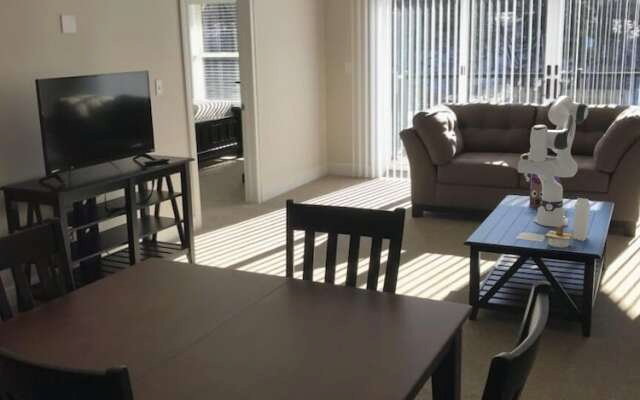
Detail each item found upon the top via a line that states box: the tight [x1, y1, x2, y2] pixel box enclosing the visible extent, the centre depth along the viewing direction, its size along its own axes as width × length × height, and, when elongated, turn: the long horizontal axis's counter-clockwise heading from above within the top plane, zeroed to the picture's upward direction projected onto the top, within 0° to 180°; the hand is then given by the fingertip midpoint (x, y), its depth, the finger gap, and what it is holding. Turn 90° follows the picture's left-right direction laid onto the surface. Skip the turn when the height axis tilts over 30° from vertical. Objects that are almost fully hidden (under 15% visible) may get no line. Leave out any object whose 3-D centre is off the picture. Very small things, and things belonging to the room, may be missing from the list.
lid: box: [544, 226, 574, 241], centre depth 355 cm, size 12×12×5 cm
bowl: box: [548, 238, 571, 248], centre depth 357 cm, size 10×10×5 cm
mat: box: [515, 231, 546, 243], centre depth 372 cm, size 14×14×1 cm
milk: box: [572, 197, 591, 242], centre depth 366 cm, size 6×6×22 cm
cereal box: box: [528, 174, 562, 209], centre depth 436 cm, size 17×5×24 cm, turn 58°
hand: (536, 182), depth 364 cm, fingers open, 8 cm apart
